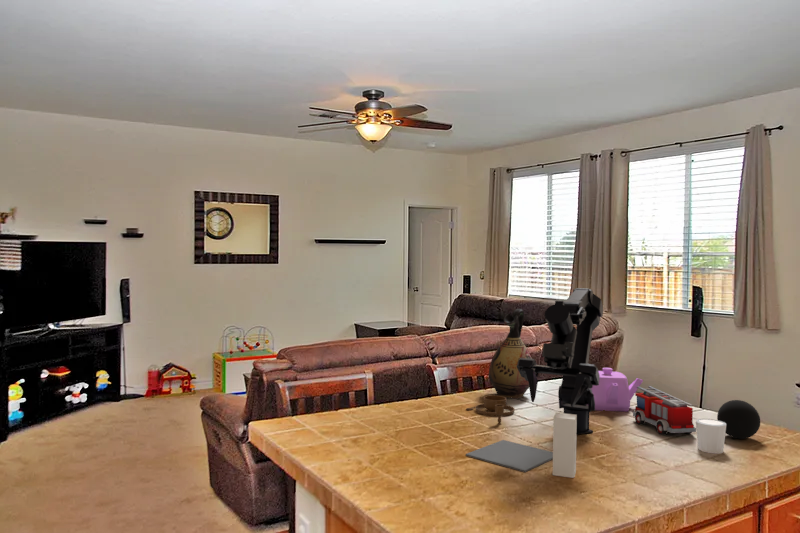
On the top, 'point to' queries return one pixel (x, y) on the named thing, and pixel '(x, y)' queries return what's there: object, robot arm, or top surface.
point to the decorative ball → (739, 419)
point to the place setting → (494, 407)
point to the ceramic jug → (510, 360)
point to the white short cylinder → (710, 435)
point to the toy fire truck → (663, 412)
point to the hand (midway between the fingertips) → (551, 403)
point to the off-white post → (564, 444)
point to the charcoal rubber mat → (512, 455)
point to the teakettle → (614, 391)
